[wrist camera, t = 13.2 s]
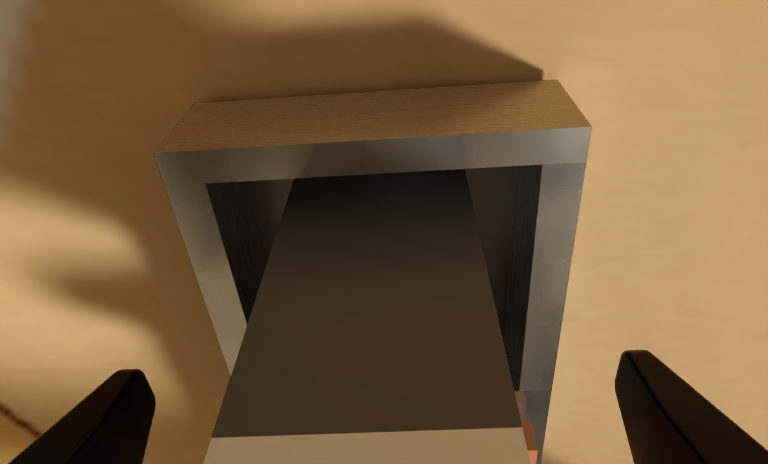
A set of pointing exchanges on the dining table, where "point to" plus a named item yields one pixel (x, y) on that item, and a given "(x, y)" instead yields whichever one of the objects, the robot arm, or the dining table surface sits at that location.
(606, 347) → the dining table surface
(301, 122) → the grey rectangular box
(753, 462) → the robot arm
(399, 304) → the plug
